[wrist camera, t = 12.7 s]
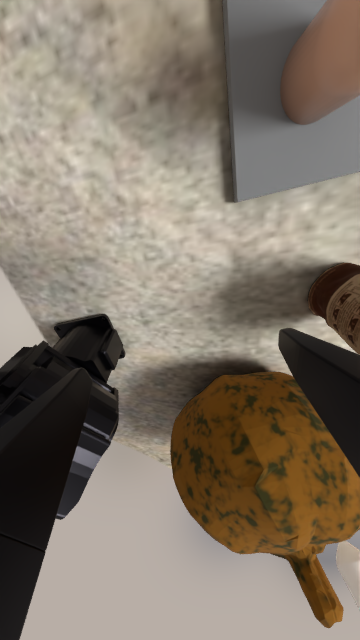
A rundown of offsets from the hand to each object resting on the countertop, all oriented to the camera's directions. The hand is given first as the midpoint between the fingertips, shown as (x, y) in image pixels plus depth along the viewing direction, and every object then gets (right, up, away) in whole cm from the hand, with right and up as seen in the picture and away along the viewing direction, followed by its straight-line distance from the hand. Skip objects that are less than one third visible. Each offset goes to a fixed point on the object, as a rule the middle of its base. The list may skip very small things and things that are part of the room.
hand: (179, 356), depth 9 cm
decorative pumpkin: (+9, -11, +22) cm, 26 cm away
